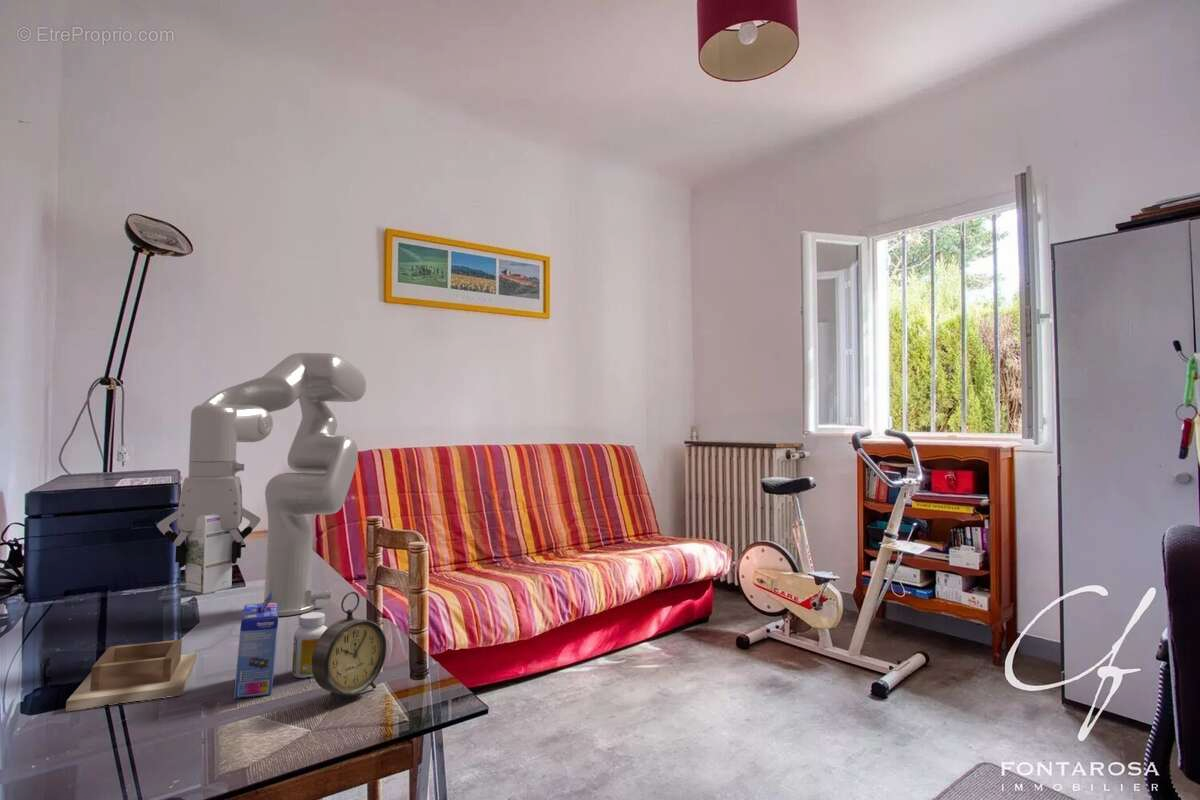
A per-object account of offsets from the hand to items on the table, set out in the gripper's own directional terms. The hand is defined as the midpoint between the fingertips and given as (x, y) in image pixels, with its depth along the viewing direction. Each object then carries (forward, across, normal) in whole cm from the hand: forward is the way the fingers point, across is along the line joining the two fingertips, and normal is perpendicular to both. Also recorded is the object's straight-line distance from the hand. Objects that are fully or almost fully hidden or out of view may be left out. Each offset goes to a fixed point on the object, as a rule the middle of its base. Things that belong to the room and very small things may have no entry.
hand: (208, 563), depth 116 cm
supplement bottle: (+16, -17, +19) cm, 30 cm away
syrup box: (+5, 0, 0) cm, 5 cm away
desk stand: (+16, +8, +14) cm, 22 cm away
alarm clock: (+16, -22, +32) cm, 42 cm away
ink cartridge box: (+16, -9, +22) cm, 29 cm away
